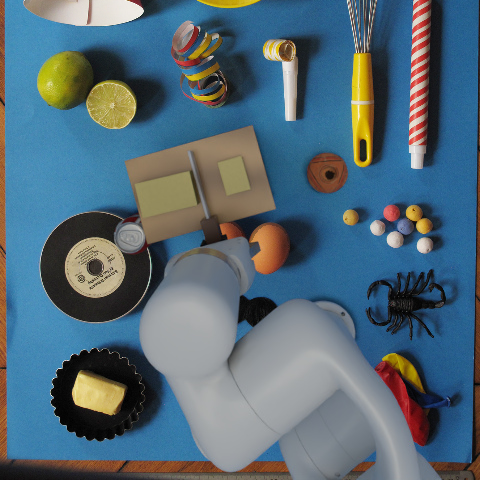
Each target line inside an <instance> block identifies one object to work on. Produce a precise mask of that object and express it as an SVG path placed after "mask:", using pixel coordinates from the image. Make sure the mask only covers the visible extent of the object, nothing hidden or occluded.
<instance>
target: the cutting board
mask: <svg viewBox="0 0 480 480" xmlns="http://www.w3.org/2000/svg"><path fill="white" fill-rule="evenodd" d="M187 151H193V154H194V158H195V162H196V165H197V169H198V172H199V176H200V179H201V183H202V186H203V190H204V193H205V197H206V201H207V204H208V208H209V211H210V215H211V216H212V215H217V217H218V221H219V224H220V225H223V224H226V223H230V222H234V221H237V220H242V219H245V218H249V217H252V216H256V215H260V214H263V213H266V212H270V211H273V210H276V209H277V206H276V203H275V200H274V196H273V192H272V189H271V185H270V182H269V178H268V173H267V171H266V167H265V164H264V161H263V157H262V154H261V150H260V146H259V142H258V138H257V135H256V132H255V128H254V125H253V124H251V125H248V126H247V125H246V126H244V127H240V128H236V129H233V130H229V131H225V132H222V133H219V134H215V135H212V136H209V137H204V138H200V139H198V140H195V141H190V142H187V143H184V144H183V143H182V144H179V145H177V146H173V147H169V148H165V149H162V150H159V151H155V152H152V153H148V154H144V155H140V156H137V157H134V158H129V159H127V160H124V166H125V169H126V172H127V175H128V176H127V177H128V179H129V182H130V183H129V184H130V187H131V190H132V195H133V197H134V201H135V204H136V208H137V211H138V212H139V215H140V219H141V223H142V226H143V230H144V233H145V237H146V240H147V244H151V243H152V244H154V243H158V242H161V241H165V240H169V239H171V238H173V239H174V238H176V237H179V236H183V235H187V234H192V233H194V232H198V231H201V230H202V226H201V223H200V221H201V220H202V219H203V218H205V217H206V216H205V212H204V209H203V205H202V202H201V198H200V195H199V198H200V203H199V204H198V205H197V206H193V207H189V208H184V209H180V210H176V211H172V212H167V213H163V214H159V215H155V216H151V217H146V218H143V217H142V213H141V209H140V205H139V201H138V196H137V192H136V188H135V184H137V183H141V182H145V181H149V180H153V179H157V178H162V177H166V176H170V175H174V174H178V173H182V172H187V171H191V170H192V166H191V163H190V159H189V156H188V152H187ZM238 156H242V158H243V162H244V165H245V169H246V173H247V176H248V180H249V183H250V187H251V189H250V190H247V191H243V192H239V193H236V194H232V195H229V196H226V192H225V188H224V185H223V181H222V178H221V174H220V171H219V167H218V162H221V161H224V160H228V159H231V158H235V157H238ZM194 178H195V177H194ZM195 182H196V180H195ZM196 186H197V184H196ZM197 190H198V187H197ZM198 194H199V191H198ZM138 212H137V213H138ZM202 231H203V230H202ZM152 244H151V245H152Z"/></svg>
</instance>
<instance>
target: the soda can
mask: <svg viewBox="0 0 480 480" xmlns="http://www.w3.org/2000/svg"><path fill="white" fill-rule="evenodd" d="M113 240H114V243H115V246H116V247H117V249H118V250H120V251H121V252H122V253H124V254H127V255H131V256H133V255H138V254H141V253H143V252H144V251H145V250H147V249H148V248H149V247H150V246H151V245H153V243H151V244H147V240H146V237H145V233H144V230H143V226H142V223H141V219H140V215H139V212H136V213H133V214H132V215H130V216H128V217H126V218H123V219H122V220H120V221H119V222H118V224H117V225H116V227H115V229H114V232H113Z"/></svg>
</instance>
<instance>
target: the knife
mask: <svg viewBox="0 0 480 480" xmlns="http://www.w3.org/2000/svg"><path fill="white" fill-rule="evenodd" d="M187 152H188V156H189V159H190V163H191V166H192V170H193V173H194V177H195V180H196V184H197V187H198V191H199V195H200V198H201V202H202V205H203V209H204V212H205V216H206V217H205V218H203V219H202V220H201V221H200V223H201V226H202V233H203V237H204V240H205V241H206V243H207V245H210V244H213V243H217V242H220V239H221V237H222V236H223V235H224V234H223V231H222V228H221V224H219V221H218V217H217V215H212V216H211V215H210V211H209V208H208V204H207V201H206V197H205V193H204V190H203V186H202V183H201V179H200V176H199V172H198V169H197V165H196V162H195V158H194V154H193V151H187Z"/></svg>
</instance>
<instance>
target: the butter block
mask: <svg viewBox="0 0 480 480" xmlns="http://www.w3.org/2000/svg"><path fill="white" fill-rule="evenodd" d="M135 188H136V192H137V196H138V201H139V205H140V209H141V213H142V217H143V218H146V217H151V216H155V215H159V214H163V213H167V212H172V211H176V210H180V209H184V208H189V207H193V206H197V205H198V204H199V203H200V198H199V194H198V190H197V186H196V182H195V178H194V173H193V170H191V171H187V172H182V173H178V174H174V175H170V176H166V177H162V178H157V179H153V180H149V181H145V182H141V183H137V184H135Z"/></svg>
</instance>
